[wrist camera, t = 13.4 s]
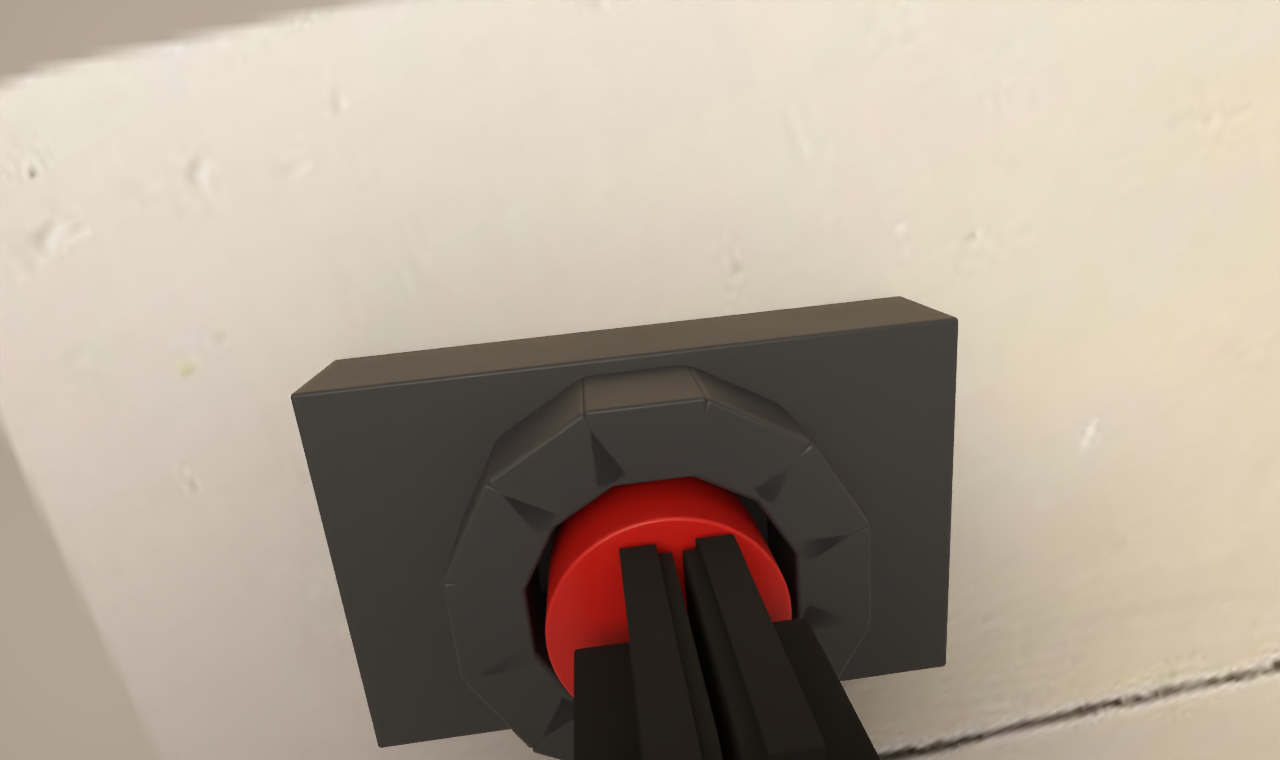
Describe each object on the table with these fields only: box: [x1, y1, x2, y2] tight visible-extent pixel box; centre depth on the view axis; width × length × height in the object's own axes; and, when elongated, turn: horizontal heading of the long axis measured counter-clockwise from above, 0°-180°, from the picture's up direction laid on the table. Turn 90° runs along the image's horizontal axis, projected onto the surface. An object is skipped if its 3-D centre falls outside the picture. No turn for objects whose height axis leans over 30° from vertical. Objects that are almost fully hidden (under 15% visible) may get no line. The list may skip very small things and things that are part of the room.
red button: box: [545, 476, 792, 698], centre depth 11 cm, size 4×4×2 cm
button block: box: [291, 297, 958, 760], centre depth 13 cm, size 11×7×4 cm, turn 95°
